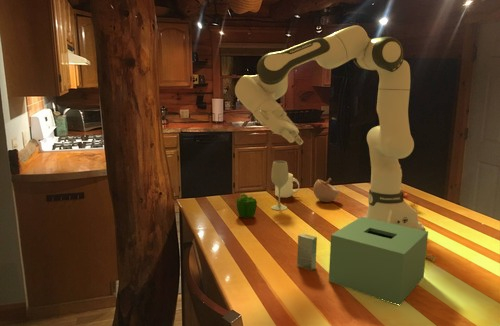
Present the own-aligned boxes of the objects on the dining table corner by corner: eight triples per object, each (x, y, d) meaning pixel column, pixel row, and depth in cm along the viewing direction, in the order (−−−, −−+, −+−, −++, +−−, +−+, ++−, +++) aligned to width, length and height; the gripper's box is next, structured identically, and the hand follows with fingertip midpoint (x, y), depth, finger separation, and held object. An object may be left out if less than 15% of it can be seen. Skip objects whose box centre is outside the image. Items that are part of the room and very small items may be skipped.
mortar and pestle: (341, 205, 185) (342, 181, 183) (314, 205, 185) (315, 181, 183) (335, 198, 197) (337, 175, 194) (311, 197, 197) (312, 175, 194)
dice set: (435, 263, 127) (436, 257, 127) (418, 261, 129) (418, 256, 128) (433, 257, 132) (433, 251, 132) (416, 255, 133) (416, 249, 133)
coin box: (328, 281, 114) (331, 234, 111) (358, 258, 129) (361, 216, 127) (399, 306, 102) (404, 254, 99) (423, 277, 117) (428, 231, 114)
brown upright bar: (297, 266, 123) (298, 235, 122) (301, 263, 125) (302, 233, 123) (311, 271, 120) (312, 239, 118) (315, 268, 122) (316, 237, 120)
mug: (297, 199, 195) (298, 177, 192) (273, 197, 198) (273, 175, 196) (300, 194, 203) (301, 173, 201) (277, 192, 206) (277, 172, 204)
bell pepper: (257, 213, 172) (257, 191, 170) (255, 220, 164) (256, 196, 162) (237, 213, 173) (237, 190, 171) (235, 219, 165) (235, 195, 163)
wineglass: (290, 207, 182) (291, 161, 178) (282, 211, 176) (283, 164, 171) (275, 204, 186) (276, 159, 182) (267, 208, 180) (268, 162, 175)
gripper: (264, 101, 125) (294, 132, 121) (285, 111, 144) (312, 138, 140) (251, 116, 127) (280, 147, 123) (273, 124, 146) (299, 151, 142)
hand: (297, 142), depth 131 cm, fingers open, 8 cm apart
